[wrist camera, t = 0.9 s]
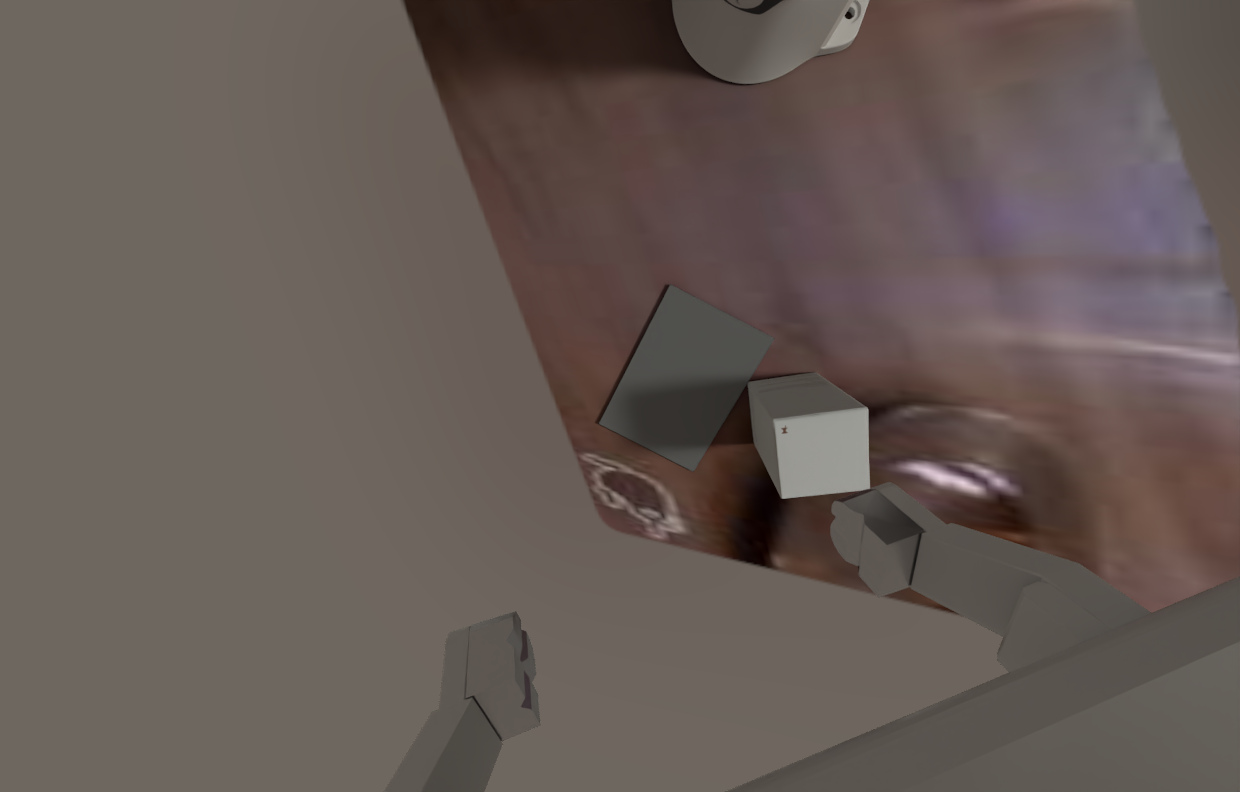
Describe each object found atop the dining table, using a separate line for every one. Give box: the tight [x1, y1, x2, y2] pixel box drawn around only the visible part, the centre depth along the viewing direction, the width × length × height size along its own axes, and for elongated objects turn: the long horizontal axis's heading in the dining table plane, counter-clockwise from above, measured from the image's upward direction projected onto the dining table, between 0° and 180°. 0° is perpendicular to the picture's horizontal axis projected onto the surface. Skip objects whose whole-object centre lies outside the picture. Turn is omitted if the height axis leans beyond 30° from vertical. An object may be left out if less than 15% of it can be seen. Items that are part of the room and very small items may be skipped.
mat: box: [599, 285, 775, 472], centre depth 48 cm, size 17×12×1 cm
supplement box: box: [748, 372, 870, 499], centre depth 42 cm, size 7×7×13 cm
